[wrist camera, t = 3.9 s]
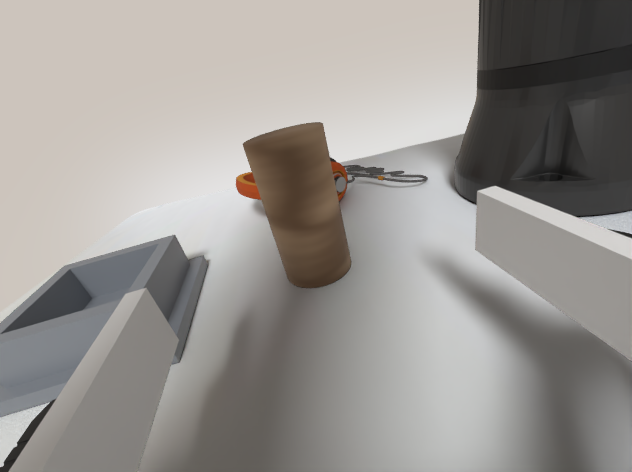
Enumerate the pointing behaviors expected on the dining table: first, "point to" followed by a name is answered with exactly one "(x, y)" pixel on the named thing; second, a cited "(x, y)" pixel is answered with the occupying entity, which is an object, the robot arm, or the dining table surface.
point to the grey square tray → (89, 315)
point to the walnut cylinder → (301, 202)
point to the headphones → (249, 187)
